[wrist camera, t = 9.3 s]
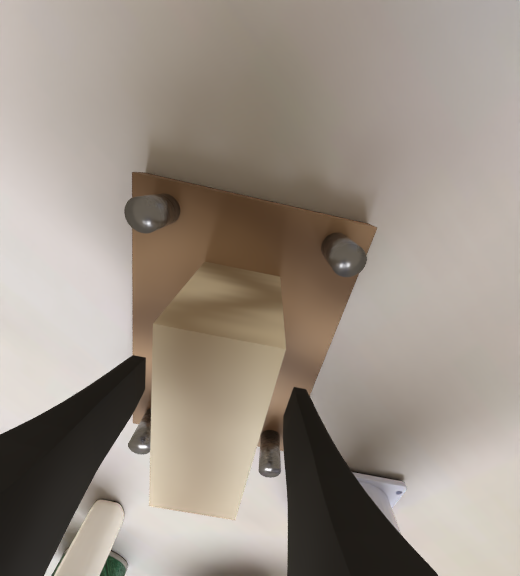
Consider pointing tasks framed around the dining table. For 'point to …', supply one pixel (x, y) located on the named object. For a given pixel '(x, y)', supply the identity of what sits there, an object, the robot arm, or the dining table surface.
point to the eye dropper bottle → (93, 541)
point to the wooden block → (212, 387)
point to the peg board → (249, 256)
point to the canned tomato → (108, 565)
